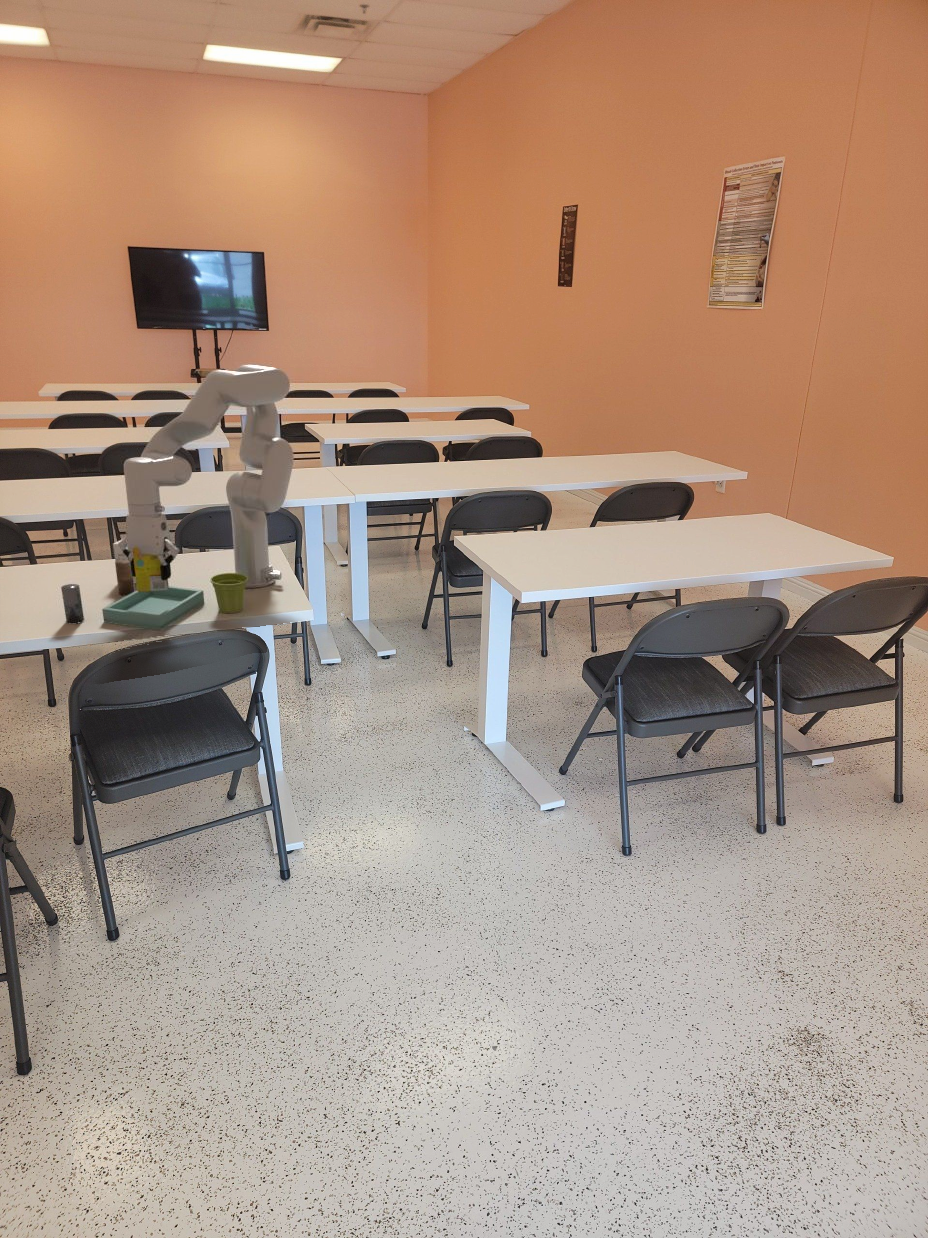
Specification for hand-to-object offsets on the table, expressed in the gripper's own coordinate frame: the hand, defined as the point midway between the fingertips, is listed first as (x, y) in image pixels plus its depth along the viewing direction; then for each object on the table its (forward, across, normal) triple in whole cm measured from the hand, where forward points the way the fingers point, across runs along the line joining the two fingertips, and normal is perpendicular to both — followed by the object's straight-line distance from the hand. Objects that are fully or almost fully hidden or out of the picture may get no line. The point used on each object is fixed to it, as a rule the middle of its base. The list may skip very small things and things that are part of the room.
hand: (151, 576), depth 202 cm
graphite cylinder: (+10, +15, +11) cm, 21 cm away
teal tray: (+10, 0, 0) cm, 10 cm away
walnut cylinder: (+10, +15, -10) cm, 20 cm away
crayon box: (+4, 0, 0) cm, 4 cm away
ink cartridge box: (+10, +20, -20) cm, 30 cm away
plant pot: (+10, -17, -8) cm, 21 cm away
